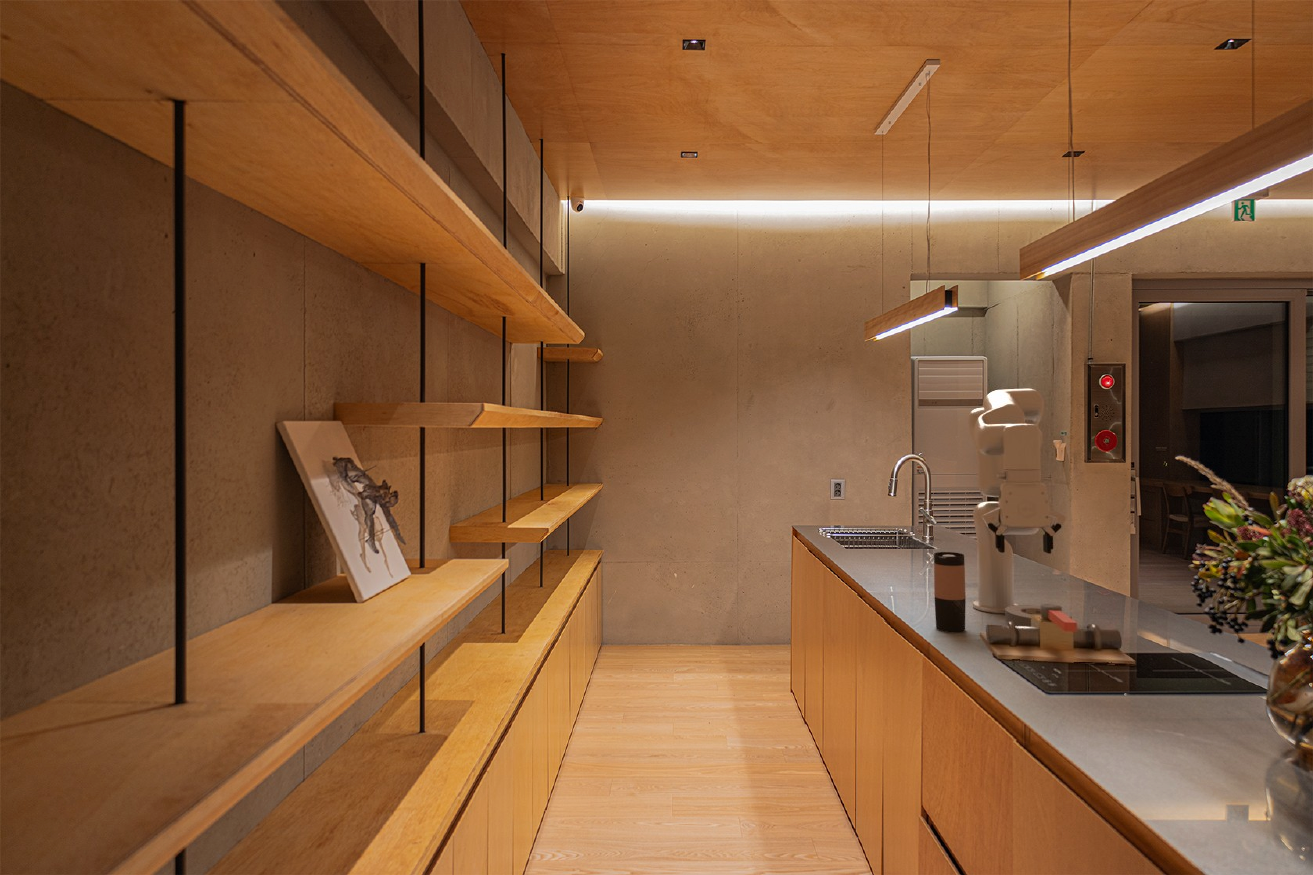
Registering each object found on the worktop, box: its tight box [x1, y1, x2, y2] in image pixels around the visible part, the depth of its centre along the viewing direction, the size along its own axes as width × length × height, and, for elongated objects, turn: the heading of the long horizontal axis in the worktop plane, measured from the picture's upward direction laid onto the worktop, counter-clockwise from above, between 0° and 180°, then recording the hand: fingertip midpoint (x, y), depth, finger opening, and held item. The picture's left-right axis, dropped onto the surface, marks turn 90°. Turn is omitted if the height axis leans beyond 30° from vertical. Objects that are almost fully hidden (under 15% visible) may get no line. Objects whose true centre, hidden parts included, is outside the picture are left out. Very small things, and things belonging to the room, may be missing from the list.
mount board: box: [979, 632, 1136, 665], centre depth 165 cm, size 28×18×1 cm, turn 77°
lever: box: [1040, 603, 1078, 632], centre depth 160 cm, size 15×4×3 cm, turn 167°
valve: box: [985, 614, 1123, 651], centre depth 165 cm, size 28×7×8 cm, turn 77°
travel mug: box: [933, 551, 967, 634], centre depth 184 cm, size 8×8×20 cm
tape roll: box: [1004, 604, 1073, 626], centre depth 182 cm, size 15×15×5 cm
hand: (1024, 552), depth 158 cm, fingers open, 9 cm apart
